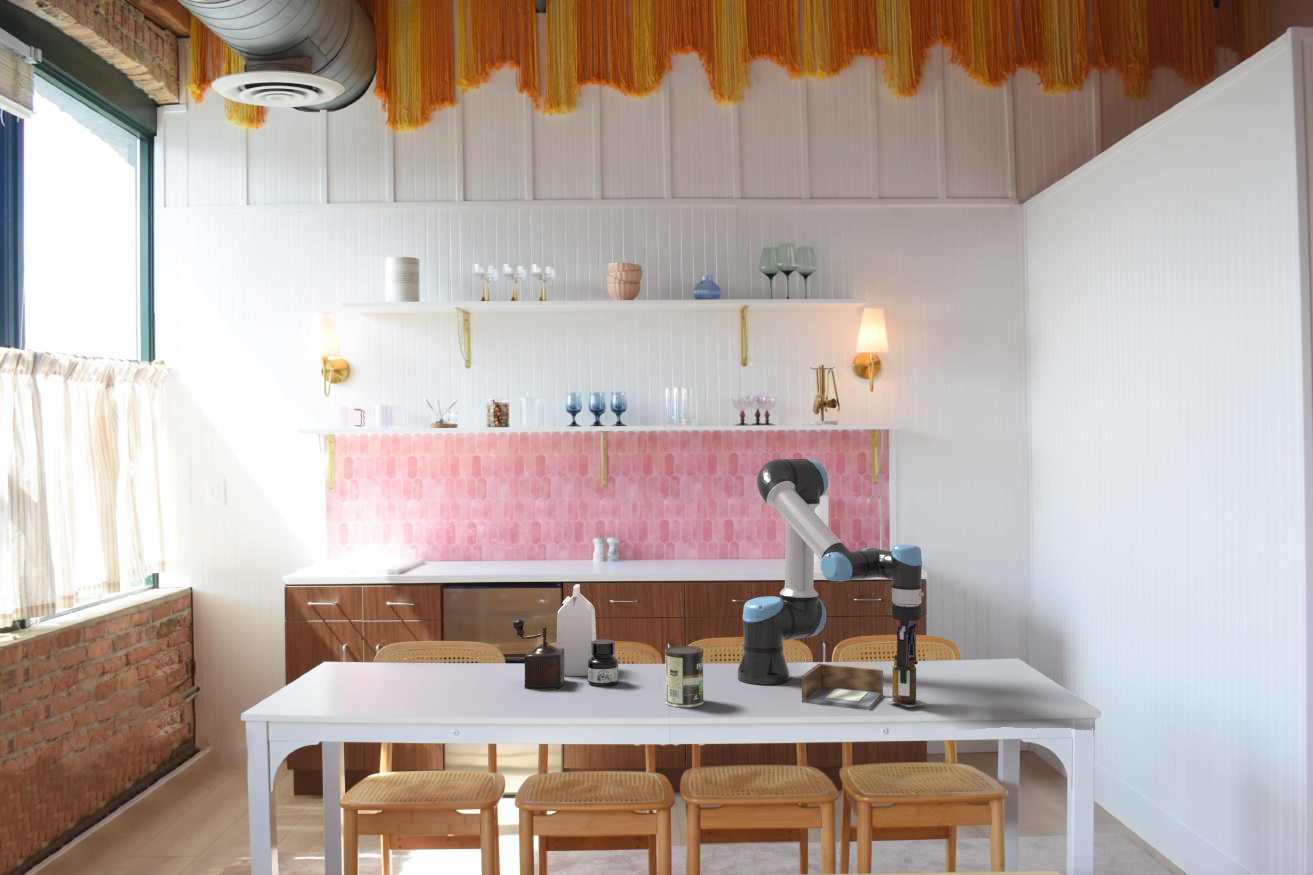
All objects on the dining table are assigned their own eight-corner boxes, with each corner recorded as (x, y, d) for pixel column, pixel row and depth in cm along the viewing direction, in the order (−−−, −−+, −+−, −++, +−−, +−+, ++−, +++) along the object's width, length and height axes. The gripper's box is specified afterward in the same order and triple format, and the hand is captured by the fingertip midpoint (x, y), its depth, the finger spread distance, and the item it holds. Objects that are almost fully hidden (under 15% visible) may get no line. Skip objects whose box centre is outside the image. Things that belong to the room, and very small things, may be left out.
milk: (593, 675, 276) (593, 588, 276) (555, 675, 276) (555, 588, 277) (597, 666, 288) (597, 583, 288) (560, 666, 288) (560, 583, 289)
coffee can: (705, 698, 249) (705, 646, 249) (701, 708, 239) (700, 654, 239) (668, 696, 251) (668, 644, 251) (662, 706, 241) (661, 652, 241)
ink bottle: (585, 687, 262) (584, 644, 262) (587, 679, 271) (587, 638, 271) (619, 687, 262) (619, 644, 262) (620, 679, 271) (620, 638, 271)
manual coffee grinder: (565, 679, 271) (565, 618, 271) (560, 689, 260) (560, 625, 260) (513, 679, 272) (513, 617, 272) (505, 688, 261) (505, 624, 261)
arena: (801, 702, 245) (801, 675, 245) (819, 688, 259) (818, 663, 259) (869, 710, 237) (869, 682, 237) (883, 695, 251) (882, 669, 251)
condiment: (904, 696, 247) (904, 651, 247) (928, 704, 239) (928, 657, 239) (884, 700, 243) (884, 654, 243) (908, 707, 236) (908, 661, 236)
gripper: (914, 610, 232) (914, 702, 232) (927, 599, 249) (927, 685, 249) (884, 608, 235) (884, 699, 235) (899, 597, 252) (899, 682, 252)
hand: (906, 692), depth 242 cm, fingers closed on condiment, 6 cm apart
